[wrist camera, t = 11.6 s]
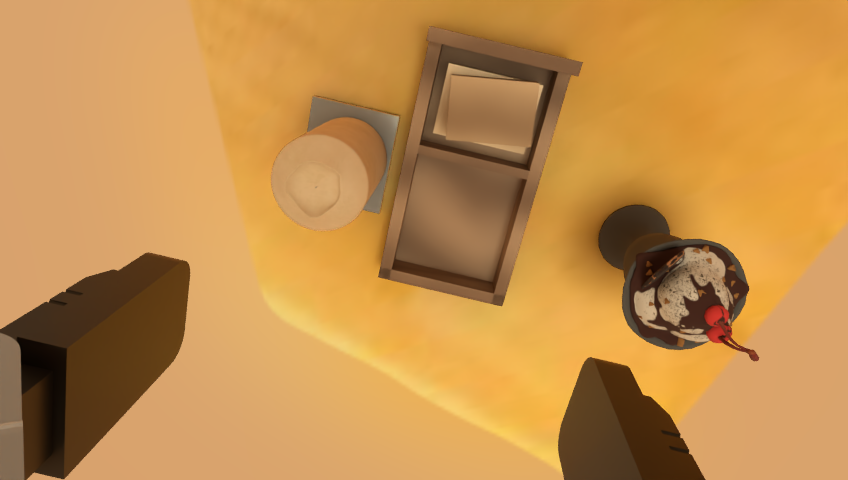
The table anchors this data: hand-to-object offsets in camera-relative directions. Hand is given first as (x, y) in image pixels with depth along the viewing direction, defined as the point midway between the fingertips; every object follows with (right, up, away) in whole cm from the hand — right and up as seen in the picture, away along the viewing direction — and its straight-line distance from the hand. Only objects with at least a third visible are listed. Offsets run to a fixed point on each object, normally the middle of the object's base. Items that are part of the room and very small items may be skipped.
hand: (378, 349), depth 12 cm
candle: (-4, +8, +29) cm, 30 cm away
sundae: (+16, +2, +30) cm, 34 cm away
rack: (+4, +7, +29) cm, 30 cm away
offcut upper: (+5, +10, +25) cm, 28 cm away
